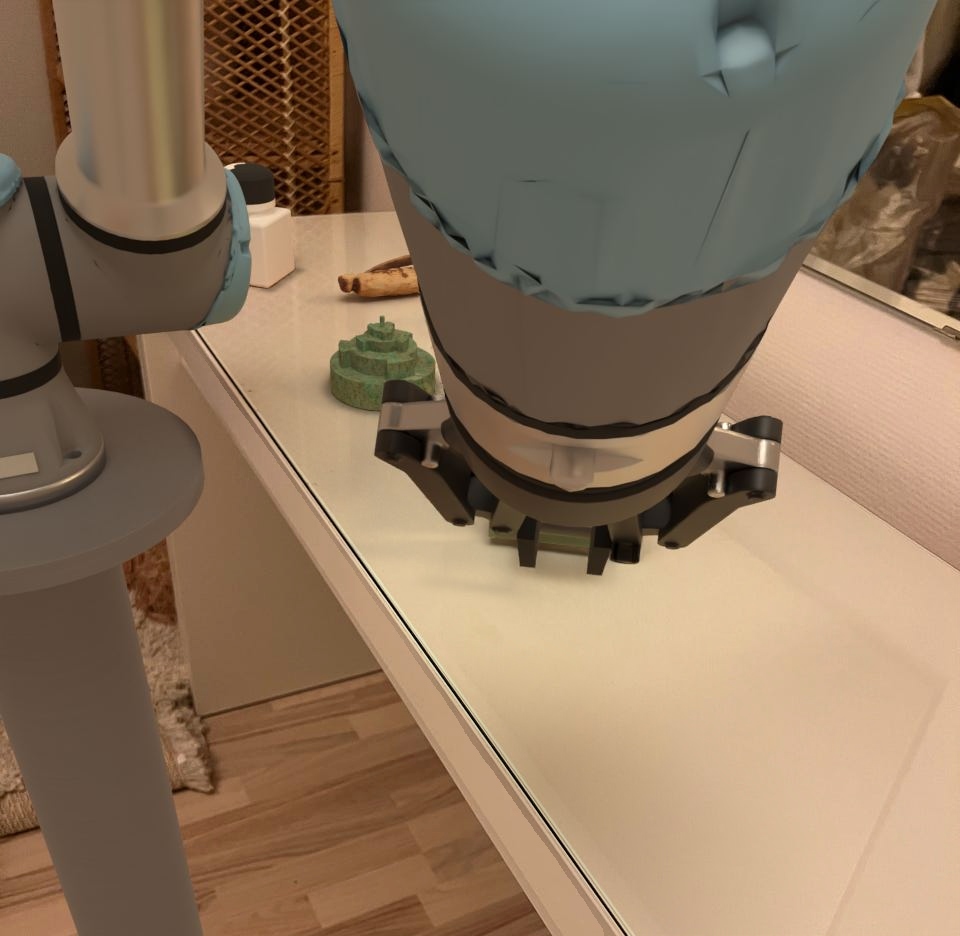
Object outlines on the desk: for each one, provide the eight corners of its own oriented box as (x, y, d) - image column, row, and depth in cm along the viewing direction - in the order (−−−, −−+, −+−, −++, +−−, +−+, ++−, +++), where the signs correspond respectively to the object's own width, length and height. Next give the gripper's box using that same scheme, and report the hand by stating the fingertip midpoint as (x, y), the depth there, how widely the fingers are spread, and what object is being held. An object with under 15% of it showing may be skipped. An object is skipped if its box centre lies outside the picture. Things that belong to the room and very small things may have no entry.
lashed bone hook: (453, 270, 124) (318, 285, 116) (455, 230, 121) (316, 243, 113) (490, 292, 117) (349, 309, 110) (493, 251, 114) (348, 266, 107)
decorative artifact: (353, 418, 90) (452, 400, 94) (351, 344, 86) (454, 328, 90) (316, 375, 97) (409, 360, 101) (311, 304, 93) (409, 291, 96)
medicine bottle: (295, 270, 120) (288, 163, 112) (268, 289, 114) (259, 178, 107) (242, 261, 121) (231, 155, 114) (213, 280, 116) (199, 169, 108)
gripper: (263, 462, 25) (396, 600, 48) (889, 531, 24) (717, 638, 47) (305, 185, 26) (416, 452, 49) (915, 239, 25) (732, 486, 48)
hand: (563, 543), depth 48 cm, fingers open, 3 cm apart
